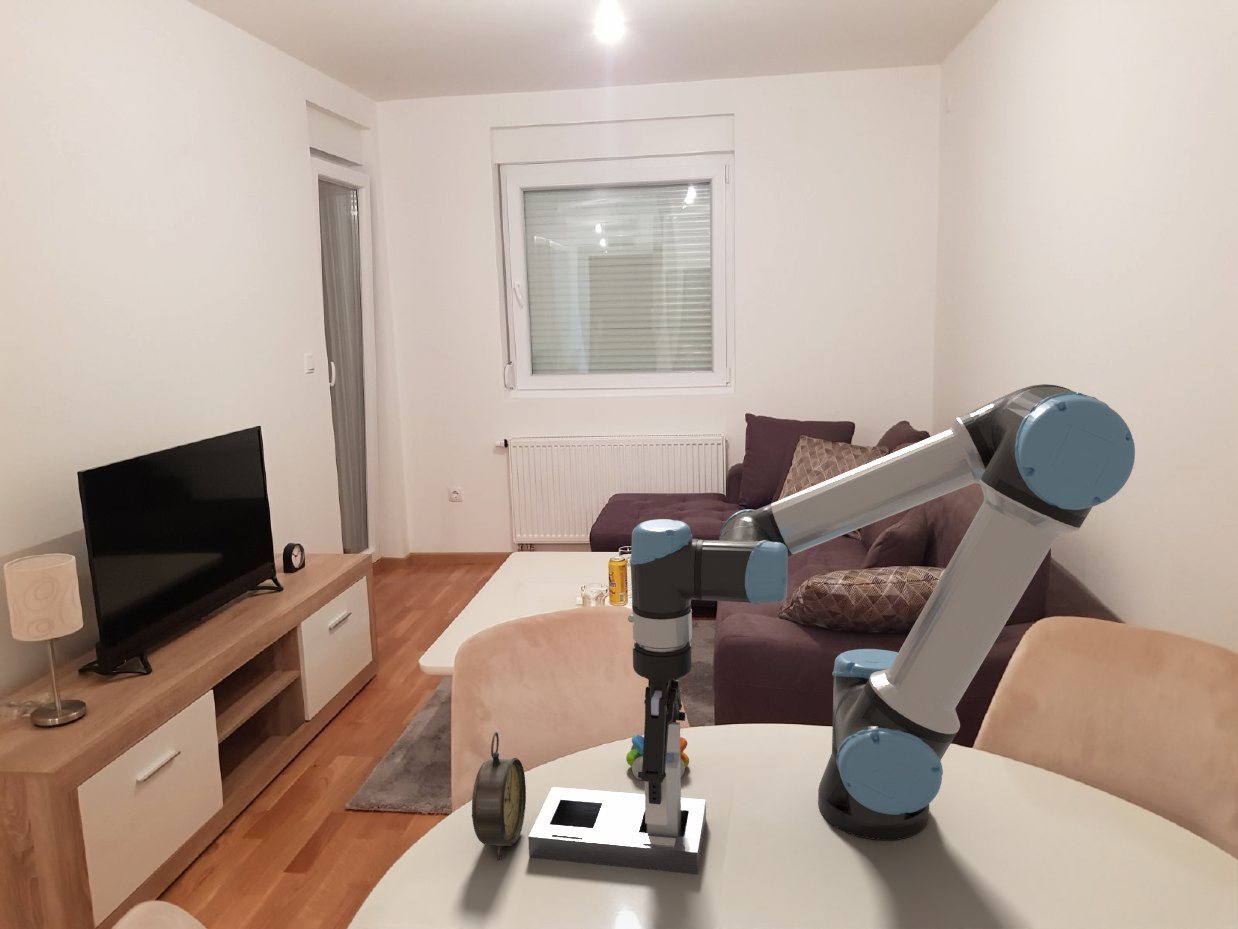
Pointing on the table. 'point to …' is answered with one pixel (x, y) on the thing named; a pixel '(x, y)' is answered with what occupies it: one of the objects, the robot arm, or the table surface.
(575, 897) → the table surface
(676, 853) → the panel
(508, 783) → the alarm clock
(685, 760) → the rainbow petal toy
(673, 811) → the plug
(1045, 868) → the table surface
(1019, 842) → the table surface
